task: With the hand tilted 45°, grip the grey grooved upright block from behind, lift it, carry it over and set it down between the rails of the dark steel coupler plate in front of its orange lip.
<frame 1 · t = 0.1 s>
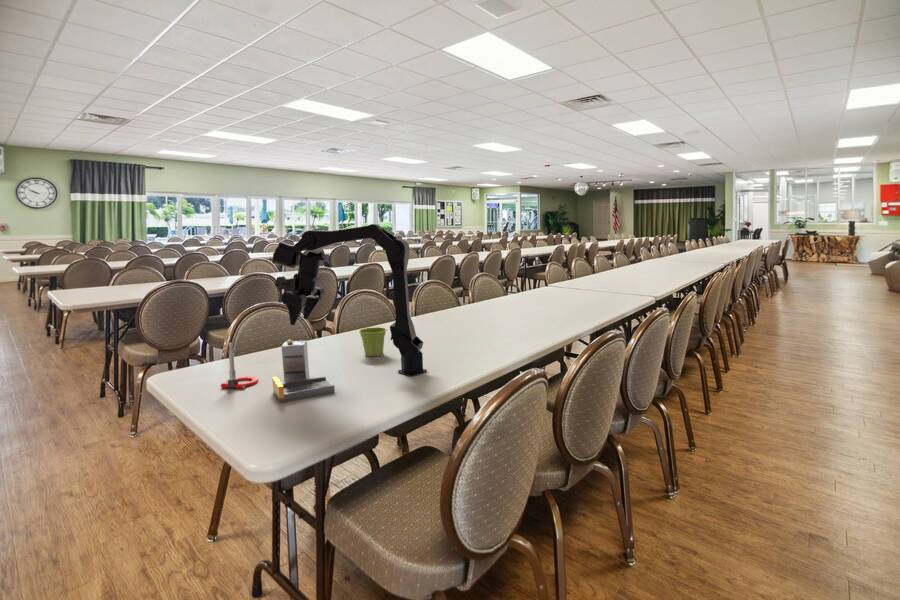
hand: (299, 321, 142), 15 cm above the table, tool pointing down, fingers open, 9 cm apart
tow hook: (241, 384, 134), on the table
plant pot: (374, 355, 162), on the table
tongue: (303, 392, 125), on the table
grey grooved upright block: (297, 380, 136), on the table
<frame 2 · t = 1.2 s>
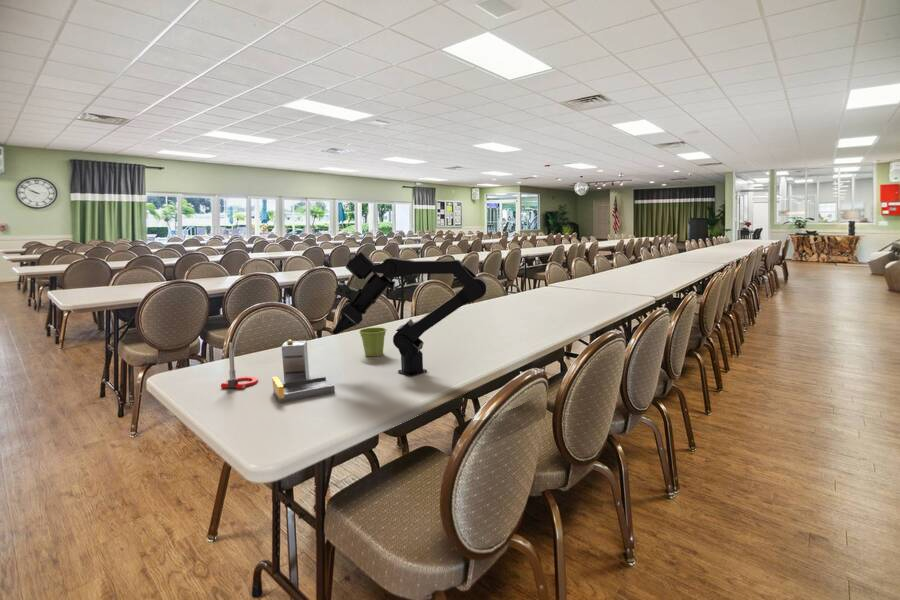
hand: (335, 330, 138), 14 cm above the table, tool tilted 45°, fingers open, 9 cm apart
nothing on the table moved.
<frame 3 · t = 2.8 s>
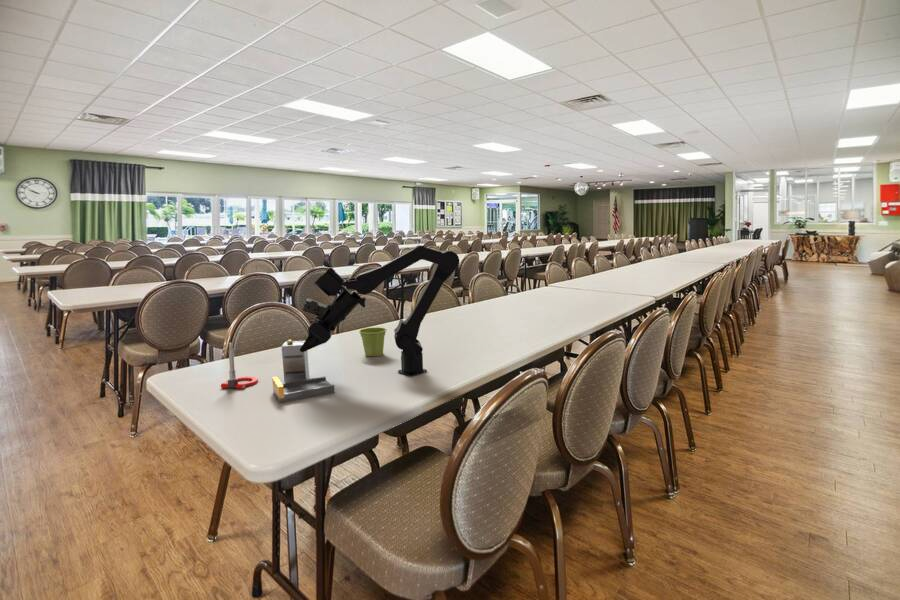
hand: (303, 347, 135), 10 cm above the table, tool tilted 45°, fingers open, 9 cm apart
nothing on the table moved.
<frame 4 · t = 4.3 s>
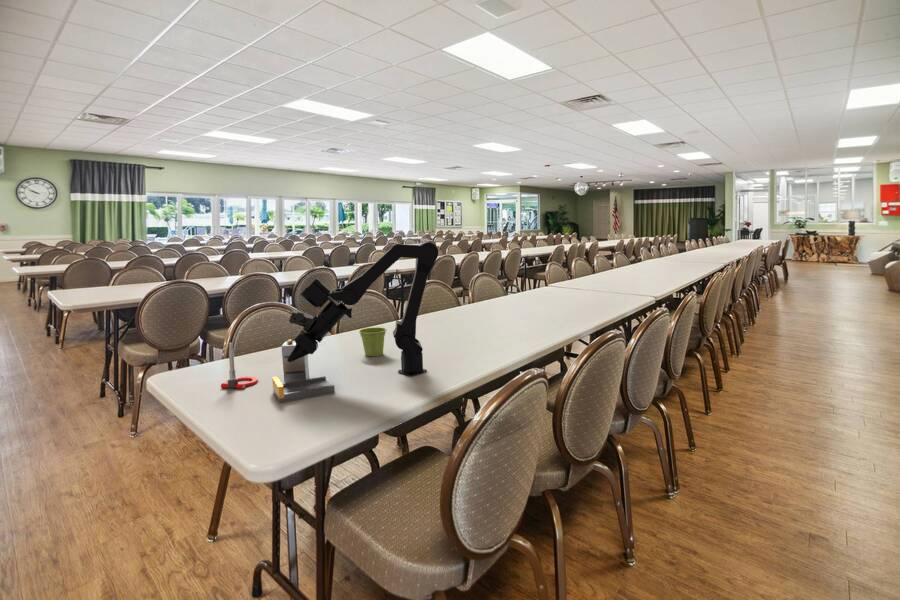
hand: (290, 358, 134), 7 cm above the table, tool tilted 45°, fingers closed on grey grooved upright block, 5 cm apart
grey grooved upright block: (297, 380, 136), on the table, touching gripper
everything else where it was.
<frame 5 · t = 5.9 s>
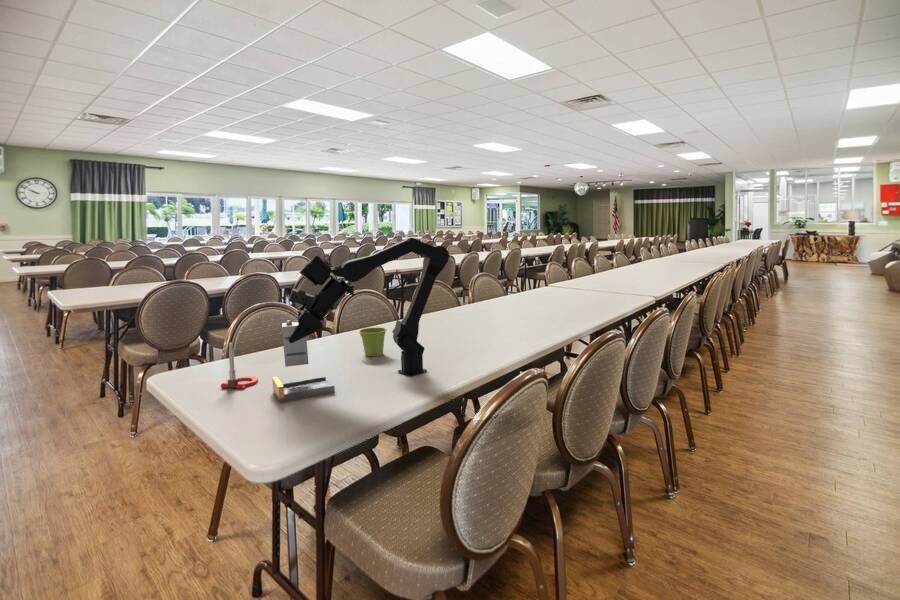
hand: (289, 339, 129), 13 cm above the table, tool tilted 45°, fingers closed on grey grooved upright block, 5 cm apart
grey grooved upright block: (297, 362, 130), point 7 cm above the table, touching gripper
everything else where it was.
when the fingers open (9 cm above the table, at t = 7.5 s): grey grooved upright block drops 1 cm, resting on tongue.
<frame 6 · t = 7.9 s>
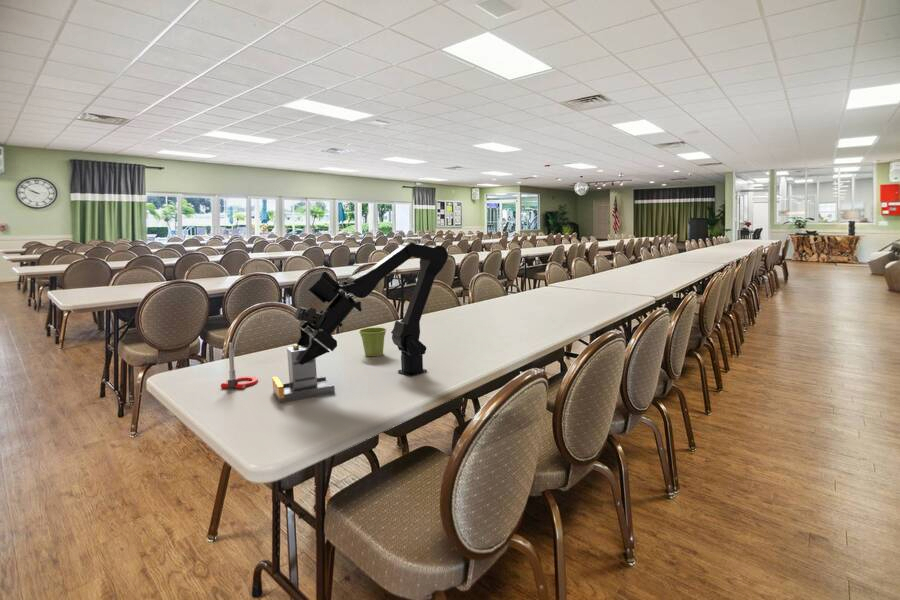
hand: (296, 359, 123), 9 cm above the table, tool tilted 45°, fingers open, 9 cm apart
grey grooved upright block: (303, 388, 125), point 1 cm above the table, touching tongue
everything else where it was.
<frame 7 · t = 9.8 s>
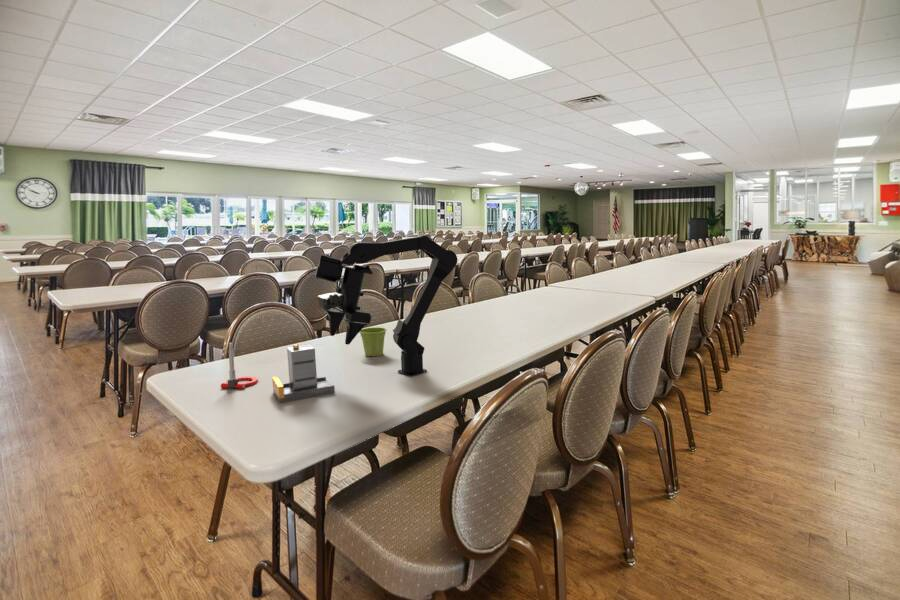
hand: (339, 339, 133), 12 cm above the table, tool tilted 15°, fingers open, 9 cm apart
nothing on the table moved.
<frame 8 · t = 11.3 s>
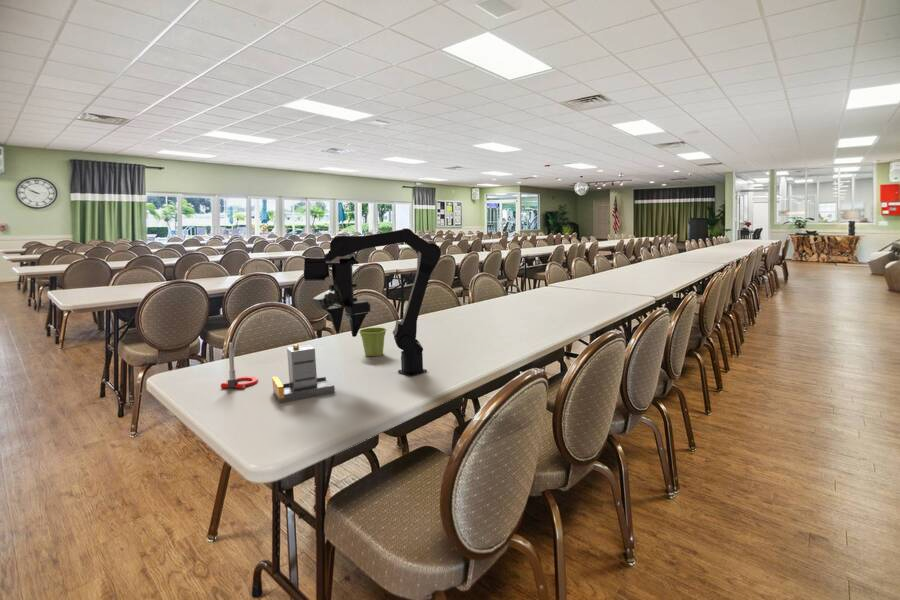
hand: (345, 334, 135), 13 cm above the table, tool pointing down, fingers open, 9 cm apart
nothing on the table moved.
at the end: grey grooved upright block 0.0 cm from the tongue (horizontally); grey grooved upright block point 1.2 cm above the table; grey grooved upright block tilted 0° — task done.
